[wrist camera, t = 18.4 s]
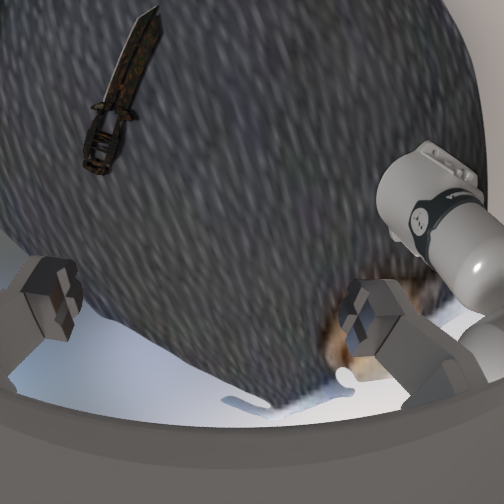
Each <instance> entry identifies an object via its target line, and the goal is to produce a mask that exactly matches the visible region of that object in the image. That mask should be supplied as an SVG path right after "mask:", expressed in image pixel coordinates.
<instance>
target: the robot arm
mask: <svg viewBox="0 0 504 504" xmlns="http://www.w3.org/2000/svg"><path fill="white" fill-rule="evenodd" d="M433 150H434V152H433ZM477 182H478V181H477V175H476V174H475V173H474V172H473V171H472V170H470V169H469V168H468V167H466V166H465V165H464V164H462V163H461V162H460V161H458V160H457V159H456V158H454V157H453V156H451V155H450V154H449V153H447V152H446V151H444V150H443V149H441V148H440V147H438V146H437V145H435V144H434V143H432V142H431V141H425V142H424V143H422V144H421V145H420V146H419V147H418V148H417V149H416V150H415V151H413V152H412V153H409V154H407V155H404V156H402V157H401V158H399V159H398V160H396V161H395V162H394V163H393V164H392V165H391V166H390V167H389V168H388V169H387V170H386V172H385V173H384V175H383V177H382V179H381V181H380V183H379V186H378V190H377V197H376V203H377V209H378V212H379V215H380V217H381V218H382V220H383V221H384V222H385V223H386V224H387V226H388V227H389V232H390V236H391V238H392V239H393V240H394V241H395V242H402V243H403V244H404V245H405V246H406V247H407V248H408V249H409V250H410V251H411V252H412V253H413V254H414V255H415V256H417V257H419V256H421V257H422V259H423V260H424V261H425V263H426V264H427V265H429V266H430V267H431V268H432V269H433V270H435V271H437V272H438V274H439V275H440V276H441V278H442V279H443V280H444V282H445V283H446V284H447V286H448V287H449V289H450V290H451V291H452V293H453V294H454V296H455V297H456V299H457V300H458V301H459V302H460V303H461V304H462V305H463V306H464V307H466V308H468V309H469V310H471V311H474V312H477V313H481V314H483V315H485V317H484V318H482V319H481V320H479V321H478V322H477V323H475V324H474V325H472V326H471V327H469V328H468V329H467V330H466V331H465V332H464V333H463V334H462V336H461V337H460V339H459V340H458V342H457V341H456V340H455V339H453V338H452V337H450V336H449V335H448V334H447V333H445V332H444V331H443V330H441V329H440V328H439V327H437V326H436V325H435V324H433V323H432V322H431V321H429V320H428V319H427V318H425V317H424V316H423V315H418V314H417V312H416V311H415V309H414V307H413V305H412V304H411V302H410V300H409V299H408V297H407V295H406V294H405V292H404V291H403V289H402V287H401V286H400V284H399V282H397V281H396V280H389V279H381V280H370V279H353V280H352V281H351V282H350V284H349V286H348V288H347V290H348V293H349V295H348V296H347V297H345V298H344V299H343V300H342V302H341V304H340V307H339V314H338V318H339V324H340V327H341V329H342V330H343V331H344V332H345V333H347V334H348V335H347V337H346V340H345V341H346V344H347V346H348V349H349V352H350V355H351V357H363V356H375V358H376V359H377V360H378V361H379V362H380V363H381V364H382V365H383V367H384V368H385V369H386V370H387V371H388V372H389V373H390V374H391V375H392V376H393V377H394V378H395V379H396V380H397V381H398V382H399V383H400V384H401V385H402V386H403V388H404V389H405V390H406V391H407V392H408V393H409V394H410V395H411V396H410V397H409V398H408V399H407V400H406V401H405V402H404V403H403V405H402V406H401V410H398V411H393V412H388V413H383V414H378V415H373V416H367V417H362V418H356V419H349V420H342V421H335V422H327V423H318V424H309V425H296V426H283V427H259V428H216V427H215V428H214V427H193V426H192V427H191V426H178V425H166V424H157V423H148V422H140V421H133V420H126V419H120V418H114V417H107V416H102V415H97V414H92V413H88V412H83V411H78V410H74V409H70V408H65V407H62V406H57V405H54V404H50V403H47V402H43V401H40V400H36V399H33V398H30V397H27V396H23V395H20V394H17V390H16V387H15V386H14V384H13V383H12V382H11V381H10V379H9V378H8V377H7V376H8V375H9V374H10V373H11V372H12V371H13V370H14V369H15V368H16V367H17V366H18V365H19V364H20V363H21V362H22V361H23V360H24V359H25V358H26V357H27V356H28V355H29V354H30V353H31V352H32V351H33V350H34V349H35V348H36V347H37V346H38V345H39V344H40V343H41V342H42V341H44V338H47V339H53V340H59V341H65V342H68V340H69V338H70V335H71V333H72V330H73V327H74V322H73V319H72V318H74V317H75V316H76V315H78V314H79V312H80V310H81V307H82V301H83V289H82V285H81V283H80V282H79V280H78V279H77V278H76V277H75V276H76V274H77V272H78V270H77V267H76V263H75V262H74V261H73V260H71V259H62V258H54V257H46V256H45V257H44V256H37V255H32V256H29V257H28V259H27V260H26V262H25V263H24V264H23V266H22V267H21V268H20V270H19V271H18V273H17V274H16V276H15V277H14V279H13V280H12V282H11V283H10V285H9V286H8V288H7V289H6V290H5V289H2V290H1V291H0V504H504V225H503V224H501V223H500V222H499V221H498V220H497V219H496V218H495V217H493V216H492V215H491V214H490V213H489V212H488V211H487V210H486V208H485V206H484V205H483V204H484V196H483V193H482V192H481V191H480V190H479V189H477Z"/></svg>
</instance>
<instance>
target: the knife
mask: <svg viewBox="0 0 504 504" xmlns="http://www.w3.org/2000/svg"><path fill="white" fill-rule="evenodd" d="M156 6H157V5H156ZM156 6H155V7H153V8H151V9H150V10H148V11H147V12H145V13H144V14H142V15H141V16H139V17H138V18H137V19H136V21H135V23H134V25H133V27H132V30H131V32H130V34H129V36H128V38H127V40H126V43H125V45H124V47H123V50H122V52H121V54H120V57H119V59H118V62H117V64H116V67H115V69H114V72H113V74H112V77H111V80H110V82H109V85H108V88H107V91H106V93H105V96H104V99H103V102H100V103H98V104H95V105H93V106H91V109H93V110H97V113H98V114H97V116H96V117H95V119H94V120H93V121H92V124H91V128H90V129H89V130H88V131H87V132H88V133H87V136H86V138H85V139H86V140H85V143H84V148H83V153H84V159H85V160H84V161H83V165H82V166H83V168H85V169H87V170H88V171H89V172H92V173H94V174H96V175H102V176H104V175H106V174H107V173H108V169H109V168H106V165H107V163H108V162H109V161H110V160H111V159H114V158H115V155H116V153H117V152H116V151H117V150H118V149H117V148H118V145H119V143H120V140H121V139H120V136H119V137H118V135H119V132H120V124H119V122H121V121H123V122H124V121H126V120H127V121H130V122H132V120H134V118H132V117H131V116H130V114H129V113H128V112H129V110H127V109H128V107H129V104H130V101H131V99H132V96H133V93H134V91H135V88H136V86H137V83H138V81H139V78H140V76H141V74H142V71H143V69H144V67H145V64H146V62H147V60H148V57H149V55H150V53H151V51H152V49H153V47H154V44H155V42H156V40H157V38H158V36H159V34H160V32H159V27H158V21H157V15H156V14H155V16H154V18H153V20H152V22H151V24H150V26H149V28H148V30H147V32H146V35H145V37H144V39H143V41H142V43H139V40H140V38H141V36H142V34H143V32H144V30H145V28H146V26H147V24H148V22H149V20H150V18H151V16H152V14H153V12H154V10H155V8H156ZM136 47H139V50H138V52H137V54H136V56H135V59H134V61H133V63H132V66H131V68H130V71H129V73H128V76H127V78H126V81H125V83H124V85H122V84H121V83H122V81H123V78H124V75H125V73H126V70H127V68H128V66H129V63H130V61H131V58H132V56H133V54H134V52H135V49H136ZM119 90H122V91H121V94H120V97H119V99H118V102H117V105H116V110H115V114H118V115H120V116H118V118H117V121H116V124H115V128H114V131H113V134H112V137H111V135H108V134H105V133H102V132H99V133H98V132H95V131H96V128H97V124H98V121H99V118H100V116H101V115H102V114H103V113H104V111H105V110H106V111H111V109H112V106H113V105H114V102H115V99H116V97H117V94H118V91H119ZM94 134H96V135H98V137H99V138H101V139H103V140H105V141H103V140H98V139H93V138H94V136H95V135H94ZM103 136H105V137H107V138H108V139H110V140H108V139H106V138H105V137H103ZM93 141H95V142H101V143H106V144H109V143H110V144H109V145H108V148H107V151H106V150H103V149H100V148H97V147H95V146H92V144H93ZM91 148H92V149H95V150H98V151H101V152H104V153H107V154H106V157H105V161H104V164H102V163H99V162H98V160H96V161H94V160H91V159H88V157H89V153H90V149H91ZM89 162H92V163H94V164H97V165H100V166H103V168H100V167H96V166H93V165H91V164H88V163H89Z"/></svg>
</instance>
